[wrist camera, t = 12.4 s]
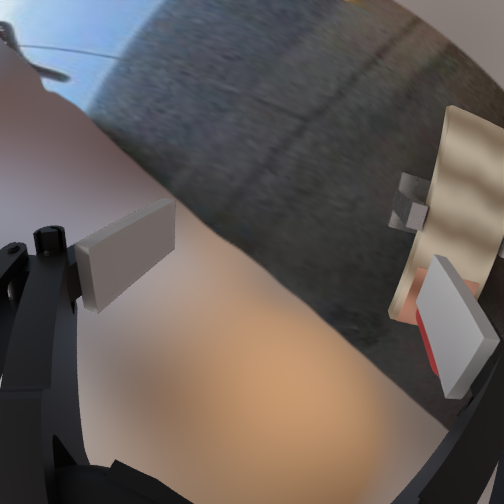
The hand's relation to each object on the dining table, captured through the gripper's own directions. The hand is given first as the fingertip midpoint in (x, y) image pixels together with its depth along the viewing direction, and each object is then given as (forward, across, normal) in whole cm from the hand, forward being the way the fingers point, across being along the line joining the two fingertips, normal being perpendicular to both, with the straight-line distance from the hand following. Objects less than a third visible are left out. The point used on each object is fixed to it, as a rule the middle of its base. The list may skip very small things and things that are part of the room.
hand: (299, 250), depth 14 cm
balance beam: (+23, +19, -2) cm, 30 cm away
